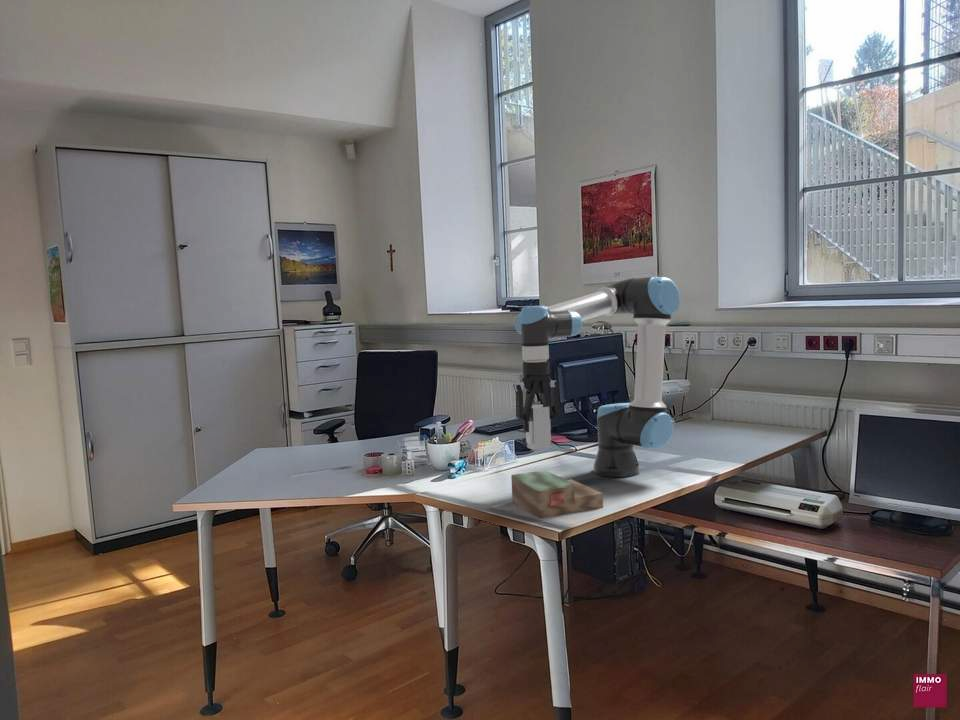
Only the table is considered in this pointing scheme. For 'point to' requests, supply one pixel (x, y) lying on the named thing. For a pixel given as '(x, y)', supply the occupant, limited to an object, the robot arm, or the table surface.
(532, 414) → the steel column
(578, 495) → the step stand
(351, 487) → the table surface
